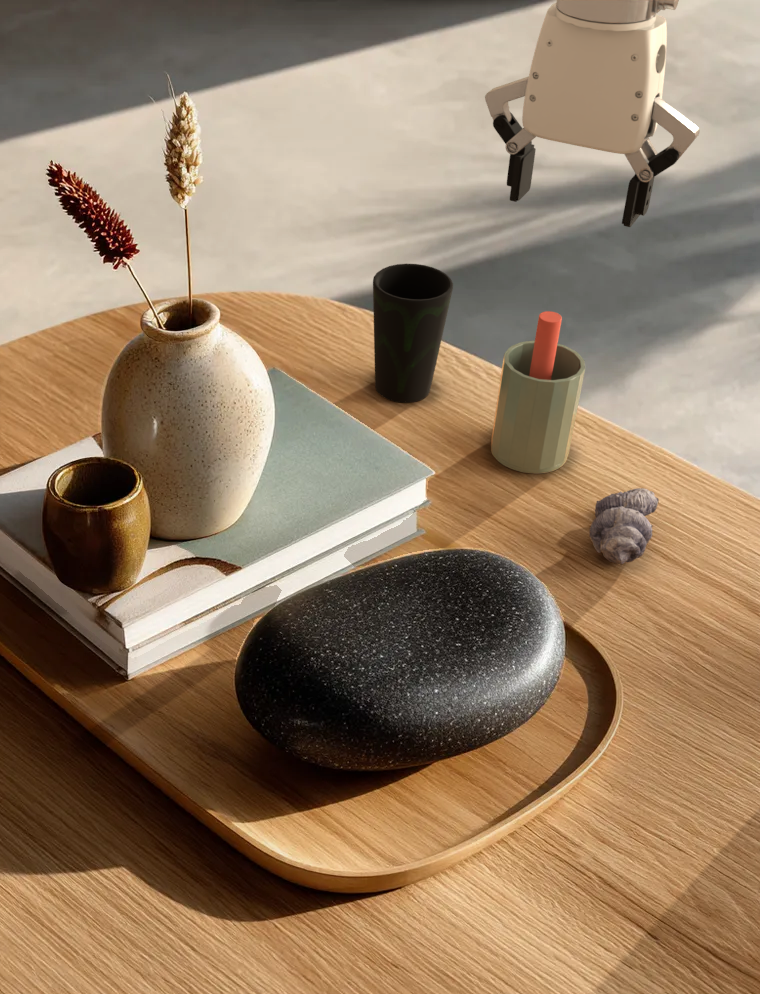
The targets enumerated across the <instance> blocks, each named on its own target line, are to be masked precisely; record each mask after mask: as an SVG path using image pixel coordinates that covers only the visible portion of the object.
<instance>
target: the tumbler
mask: <svg viewBox="0 0 760 994" xmlns="http://www.w3.org/2000/svg"><path fill="white" fill-rule="evenodd" d="M534 343H535V339H534V340H527V341H526V340H525V341H519V342H518V343H515V344H513V345H511V346H509V347H508V349H506V351H505V352H504V353H503V359H502V366H501V371H500V379H499V384H498V385H499V386H498V393H497V398H496V399H497V400H496V406H495V413H494V418H493V426H492V431H491V438H490V441H491V443H490V451H491V454H492V456H493V458H494V459H495V460H496V461H497V462H498V463H499V464H501V465H502V466H504V467H506V468H509V469H511V470H514V471H516V472H520V473H525V474H535V475H536V474H546V473H547V474H548V473H552V472H555V471H556V470H559V469H560V468H562V467H563V466H564V465H565V463H566V462H567V460H568V456H569V454H570V450H571V444H572V439H573V434H574V429H575V424H576V420H577V419H576V418H577V415H578V414H577V413H578V408H579V402H580V397H581V393H582V389H583V382H584V379H585V378H584V377H585V372H586V363H585V359H584V358H583V357H582V356H581V355H580V354H579V352H578V351H576V350H574V349H572V348H570V347H569V346H567V345H565V344H561V343H559V342H558V343H557V349H556V355H555V360H554V366H553V372H552V377H551V380H545V379H537V378H534V377H530V376H529V373H530V367H531V361H532V355H533V349H534Z"/></svg>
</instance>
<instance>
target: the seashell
mask: <svg viewBox="0 0 760 994" xmlns="http://www.w3.org/2000/svg"><path fill="white" fill-rule="evenodd" d="M655 495H656V494H655V492H654V491H652V490H649V489H648V488H643V487H641V488H640V487H638V488H633V489H629V490H627V491H623V492H622V491H619V492H616V493H611V494H609V495H607V496H605V497H603V498H601V499H599V500H596V502H595V506H594V507H595V508H594V517H595V518H594V519H593V520H592V522H591V524H590V527H589V530H588V531H589V535H588V536H589V538H590V540H591V542H592V545H593V548H594V549H595V551H596V552H597V553H599V554H600V553H602V556H603V557H604V558H605V559H606V560H607V561H609V563H613V564H620V565H623V564H624V563H631V562H634V561H635V560H637V559H638V558H641V557H642V556H643V555H644V553H645V551H646V547H647V544H648V543H649V541H650V540H651V539H652V537H653V524H651V522H650V521H649V519H648V518H647V516H649V515H651V514H653V513H655V512H656V510H657V507H658V505H659V498H658V497H656V496H655Z"/></svg>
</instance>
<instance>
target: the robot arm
mask: <svg viewBox="0 0 760 994" xmlns="http://www.w3.org/2000/svg"><path fill="white" fill-rule="evenodd" d="M678 4H679V0H556V2H554V3H553V4H551V6H550V7H549V8H548V9H547V10H546V13H545V16H544V19H543V21H542V25H541V28H540V32H539V35H538V37H537V42H536V45H535V49H534V53H533V57H532V60H531V65H530V69H529V74H528V76H526V77H522V78H519V79H517V80H513V81H510V82H507V83H505V84H501V85H498V86H496V87H493V88H492V89H491V90H489V91H488V92H486V94H485V96H484V99H485V104H486V106H487V109H488V112H489V114H490V117H491V118H492V126H493V129H494V130H495V131H496V133H497V134H498V135H499V137H500V138H501V140H502V142H503V143H504V144H505V150H506V151H505V152H507V153H508V154H509V160H508V167H507V168H508V169H507V176H506V186H507V187H510V192H509V201H511V202H515V203H517V202H519V201H520V200H521V199H523V197H524V196H525V195H526V194H528V193H529V192H530V190H531V187H532V179H533V172H534V171H533V170H534V164H535V157H536V148H535V144H533V142H532V141H533V140H534V139H535V138H536V137H537V138H540V139H544V140H547V141H553V142H556V143H557V142H558V143H562V144H568V145H570V146H571V145H572V146H577V147H582V148H585V149H586V148H587V149H591V150H598V151H600V152H601V151H602V152H606V153H612V154H619V155H624V156H625V158H626V159H627V161H628V163H629V164H630V166H631V168H632V170H633V172H634V175H633V176H632V178H631V179H630V180H629V183H628V186H627V187H628V188H627V190H626V191H627V192H626V197H625V202H624V208H623V213H622V220H621V224H622V225H623V227H626V228H631V227H632V226H633V225H634V224H635V222H636V221H637V220H638V218H639V217H640V216H643V217H644V216H645V215H646V214H647V212H648V210H649V207H650V202H651V197H652V191H653V187H654V181H655V177H656V176H658V175H659V174H662V173H663V172H664V171H666V170H667V169H669V168H670V167H672V166H674V165H675V164H676V163H677V162H678V160H679V159H680V158H681V157H682V156H683V155H684V154H685V152H686V151H687V150H688V148H689V147H690V146H691V145H692V144H693V143H694V141H695V140H697V137H698V136H699V135H700V127H698V126H697V125H696V124H695V123H693V122H692V121H691V120H690V119H689V118H687V117H686V116H685V115H683V114H682V113H681V112H679V111H678V110H677V109H676V108H674V107H673V106H671V104H669V103H668V102H666V101H665V100H664V99H663V92H664V84H665V83H664V82H665V76H666V75H665V73H666V63H667V48H668V47H667V43H668V42H667V41H668V29H667V26H668V25H667V19H666V17H664V16H663V15H660V14H658V13H659V12H661V11H666V10H671V11H672V10H673V11H675V10H676V9H677V7H678ZM523 97H524V100H523V107H522V118H521V119H522V126H521V124H520V123H519V121H518V120H517V118H516V117H515V116H514V114H513V113H512V112H511V111H510V106H509V102H511V101H514V100H518V99H521V98H523ZM658 125H659V126H660V127H662V128H663V129H664V130H666V132H668V133H669V134H670V135H671V136H672V138H673V139H672V142H671V144H670V145H668V146H667V147H666V148H664V149H663V150H661V151H659V152H657V150H656V147H655V146H654V145H653V143H652V140H650V138H651V137H653V136H654V134H655V133H656V131H657V128H658Z"/></svg>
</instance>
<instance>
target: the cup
mask: <svg viewBox="0 0 760 994" xmlns="http://www.w3.org/2000/svg"><path fill="white" fill-rule="evenodd" d="M453 290H454V283H453V281H452V278H451V277H450V276H449V275H448V274H446V273H445V272H444V271H442V270H440V269H439V268H436V267H433V266H430V265H426V264H420V263H398V264H393V265H389V266H386V267H383V268H381V269H380V270H378V271H377V272H376V273H375V274H374V276H373V279H372V302H373V303H372V306H373V309H372V310H373V347H374V348H373V351H374V352H373V353H374V355H373V357H374V388H375V391H376V393H377V394H378V395H379V396H381V397H382V398H384V399H386V400H388V401H390V402H395V403H403V404H410V403H416V402H420V401H422V400H424V399H426V398H427V397H428V396H429V394H430V393H431V389H432V388H431V387H432V384H433V379H434V375H435V371H436V366H437V361H438V358H439V353H440V352H439V351H440V349H441V348H440V347H441V343H442V340H443V335H444V330H445V325H446V321H447V318H448V314H449V313H448V311H449V308H450V303H451V299H452V295H453Z"/></svg>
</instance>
